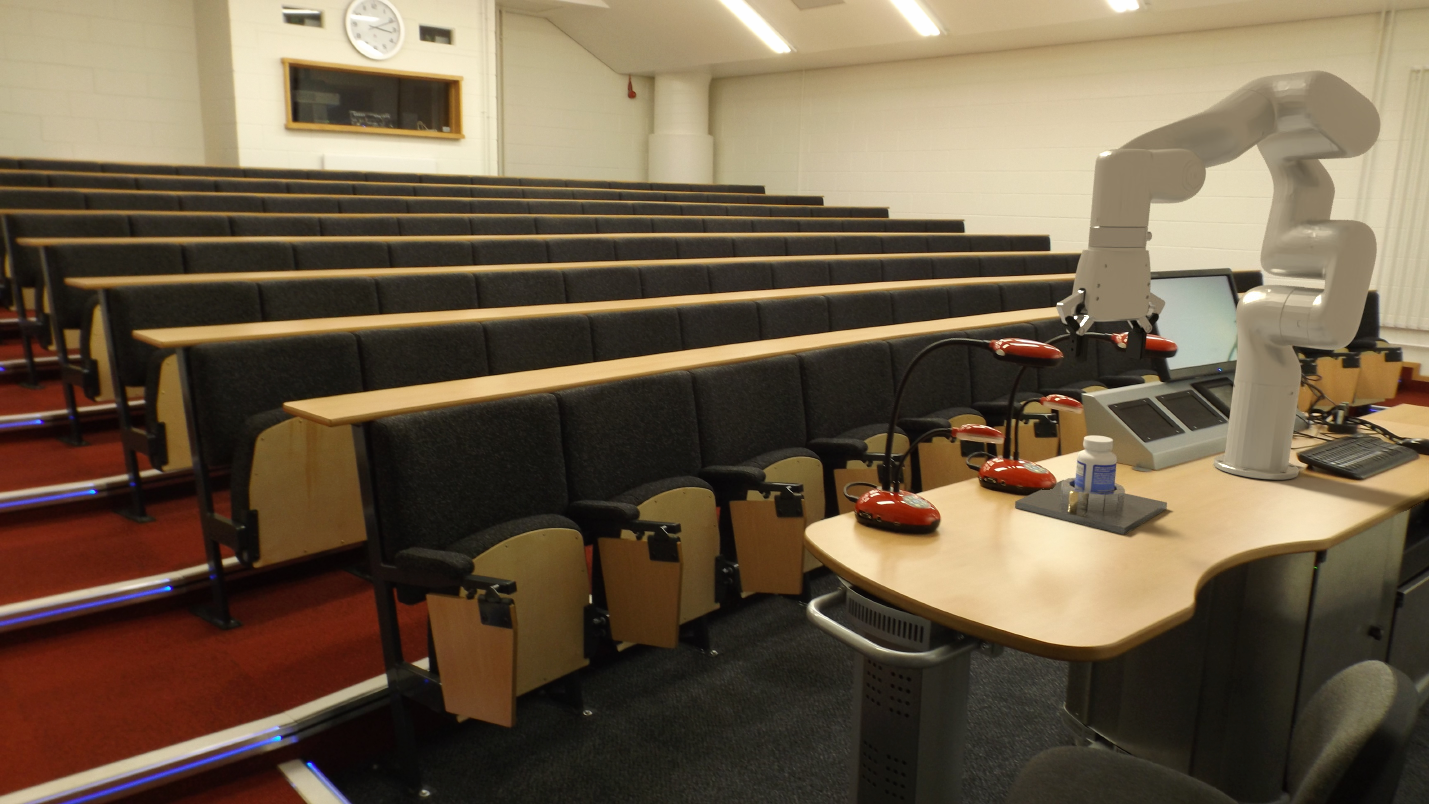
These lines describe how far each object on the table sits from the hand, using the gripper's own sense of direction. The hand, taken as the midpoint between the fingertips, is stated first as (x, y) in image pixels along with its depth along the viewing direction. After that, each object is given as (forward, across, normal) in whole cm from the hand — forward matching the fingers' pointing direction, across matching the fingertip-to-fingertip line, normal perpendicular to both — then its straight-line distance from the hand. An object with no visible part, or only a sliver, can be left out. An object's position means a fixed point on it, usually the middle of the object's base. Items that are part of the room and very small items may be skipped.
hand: (1106, 360), depth 132 cm
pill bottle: (+22, 0, 0) cm, 22 cm away
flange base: (+22, +1, 0) cm, 22 cm away
